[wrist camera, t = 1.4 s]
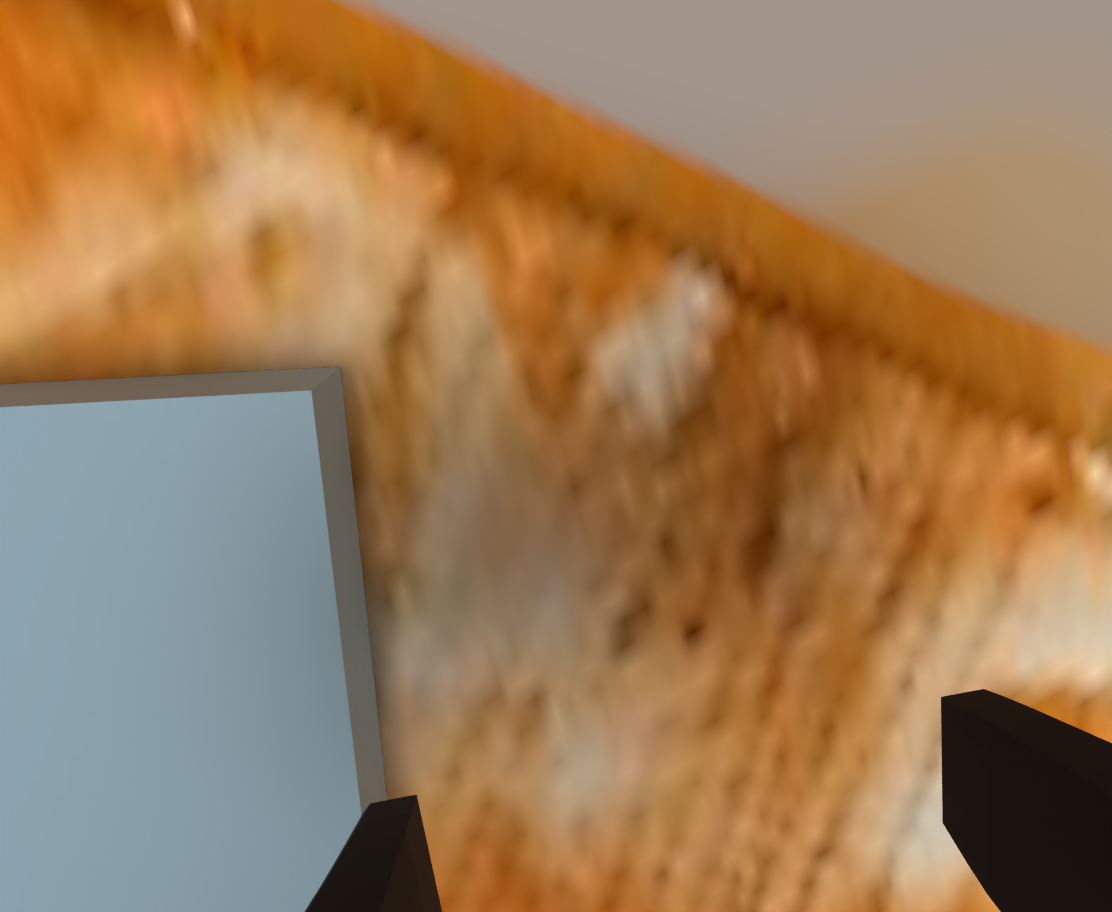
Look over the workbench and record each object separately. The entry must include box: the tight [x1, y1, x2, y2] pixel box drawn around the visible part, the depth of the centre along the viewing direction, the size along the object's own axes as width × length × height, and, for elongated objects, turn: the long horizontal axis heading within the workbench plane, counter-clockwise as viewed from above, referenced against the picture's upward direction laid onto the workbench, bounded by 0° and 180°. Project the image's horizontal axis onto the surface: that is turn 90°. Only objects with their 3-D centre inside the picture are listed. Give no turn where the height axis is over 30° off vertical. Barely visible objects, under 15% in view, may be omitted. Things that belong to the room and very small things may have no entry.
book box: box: [0, 367, 387, 912], centre depth 17 cm, size 12×8×4 cm, turn 1°
